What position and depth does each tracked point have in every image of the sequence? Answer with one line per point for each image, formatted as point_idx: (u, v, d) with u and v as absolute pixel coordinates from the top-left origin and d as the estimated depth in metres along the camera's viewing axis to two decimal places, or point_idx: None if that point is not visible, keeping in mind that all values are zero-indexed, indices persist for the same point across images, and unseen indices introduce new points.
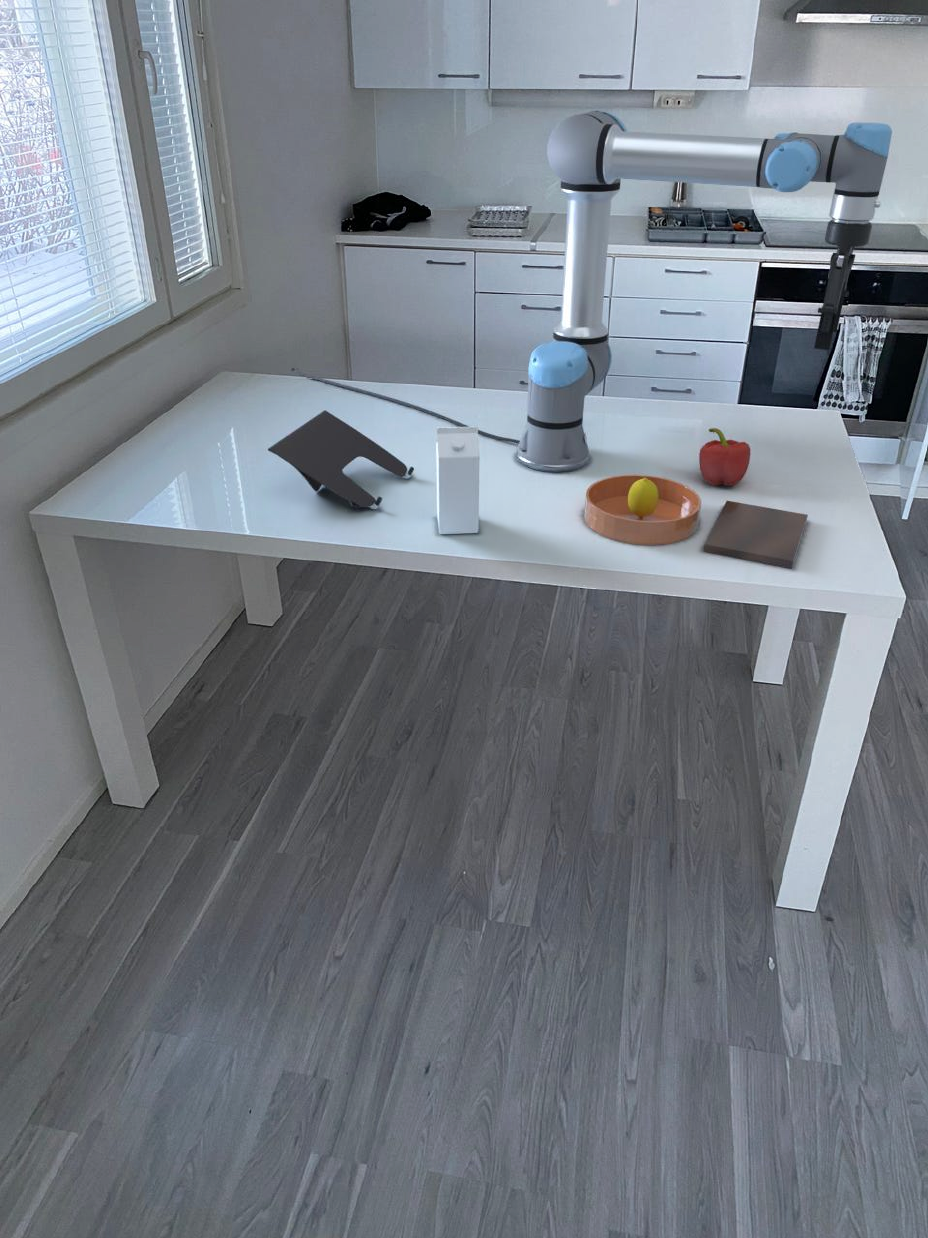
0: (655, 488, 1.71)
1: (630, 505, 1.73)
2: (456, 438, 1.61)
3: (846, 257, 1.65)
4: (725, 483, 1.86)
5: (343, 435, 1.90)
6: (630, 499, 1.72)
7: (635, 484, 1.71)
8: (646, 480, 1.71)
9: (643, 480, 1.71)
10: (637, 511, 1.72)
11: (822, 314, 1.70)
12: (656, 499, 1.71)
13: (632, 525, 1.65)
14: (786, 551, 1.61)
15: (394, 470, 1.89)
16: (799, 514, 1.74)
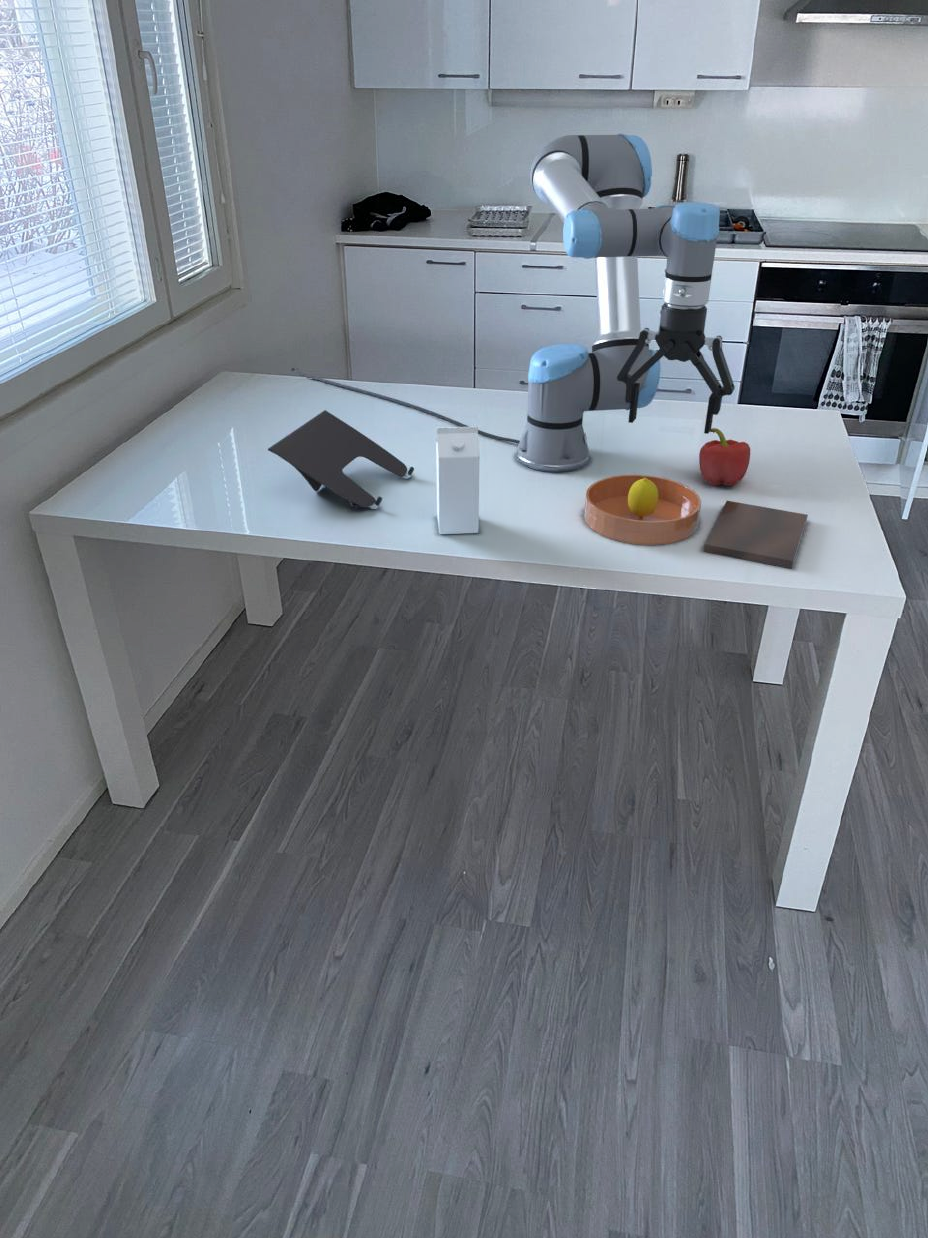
0: (655, 488, 1.71)
1: (630, 505, 1.73)
2: (456, 438, 1.61)
3: (641, 331, 1.61)
4: (725, 483, 1.86)
5: (343, 435, 1.90)
6: (630, 499, 1.72)
7: (635, 484, 1.71)
8: (646, 480, 1.71)
9: (643, 480, 1.71)
10: (637, 511, 1.72)
11: None
12: (656, 499, 1.71)
13: (632, 525, 1.65)
14: (786, 551, 1.61)
15: (394, 470, 1.89)
16: (799, 514, 1.74)
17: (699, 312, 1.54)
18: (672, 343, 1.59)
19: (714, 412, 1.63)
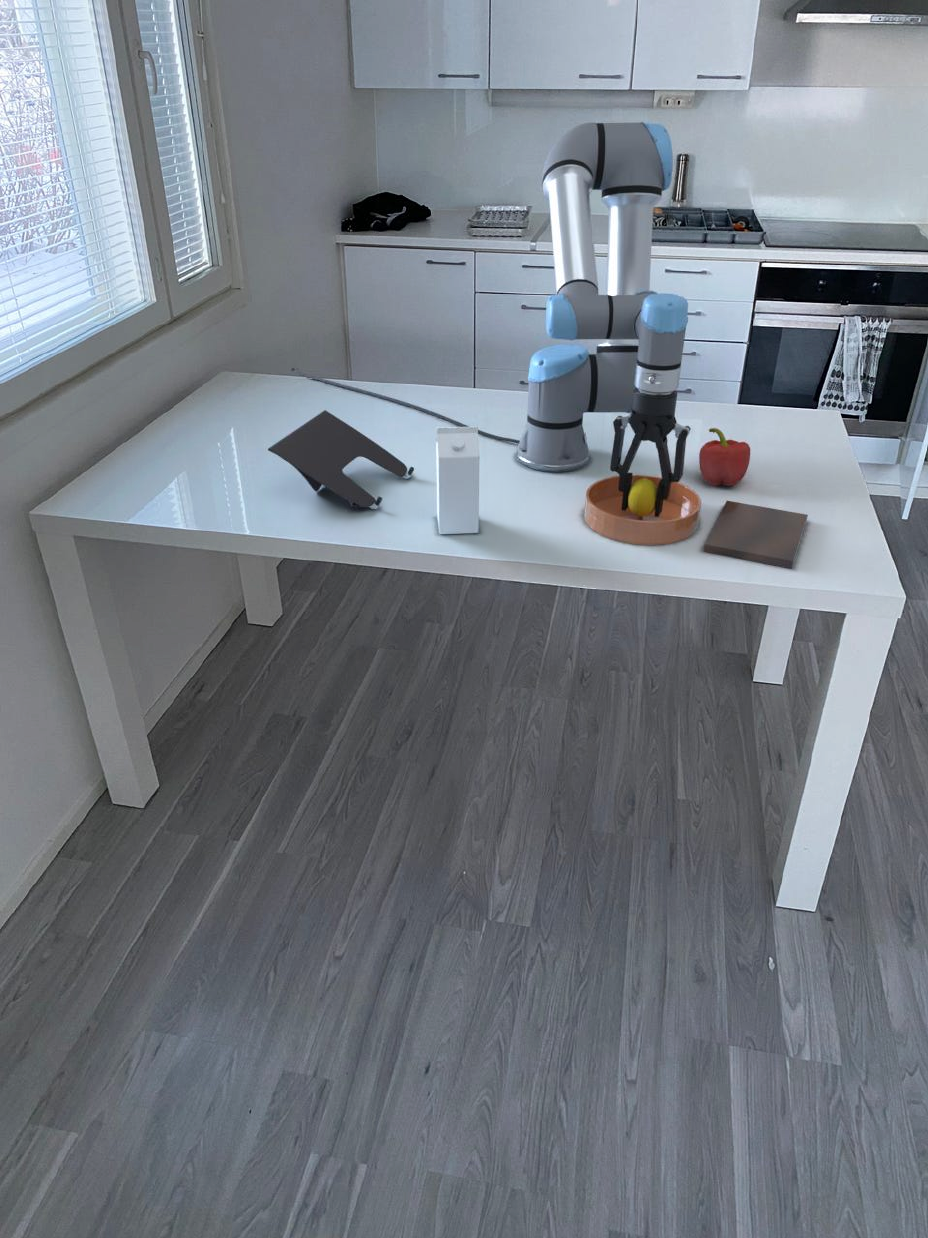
0: (655, 488, 1.71)
1: (630, 505, 1.73)
2: (456, 438, 1.61)
3: None
4: (725, 483, 1.86)
5: (343, 435, 1.90)
6: (630, 498, 1.72)
7: (635, 484, 1.71)
8: (646, 480, 1.71)
9: (643, 480, 1.71)
10: (637, 511, 1.72)
11: None
12: None
13: (632, 525, 1.65)
14: (786, 551, 1.61)
15: (394, 470, 1.89)
16: (799, 514, 1.74)
17: (668, 398, 1.60)
18: (643, 424, 1.64)
19: (663, 497, 1.71)
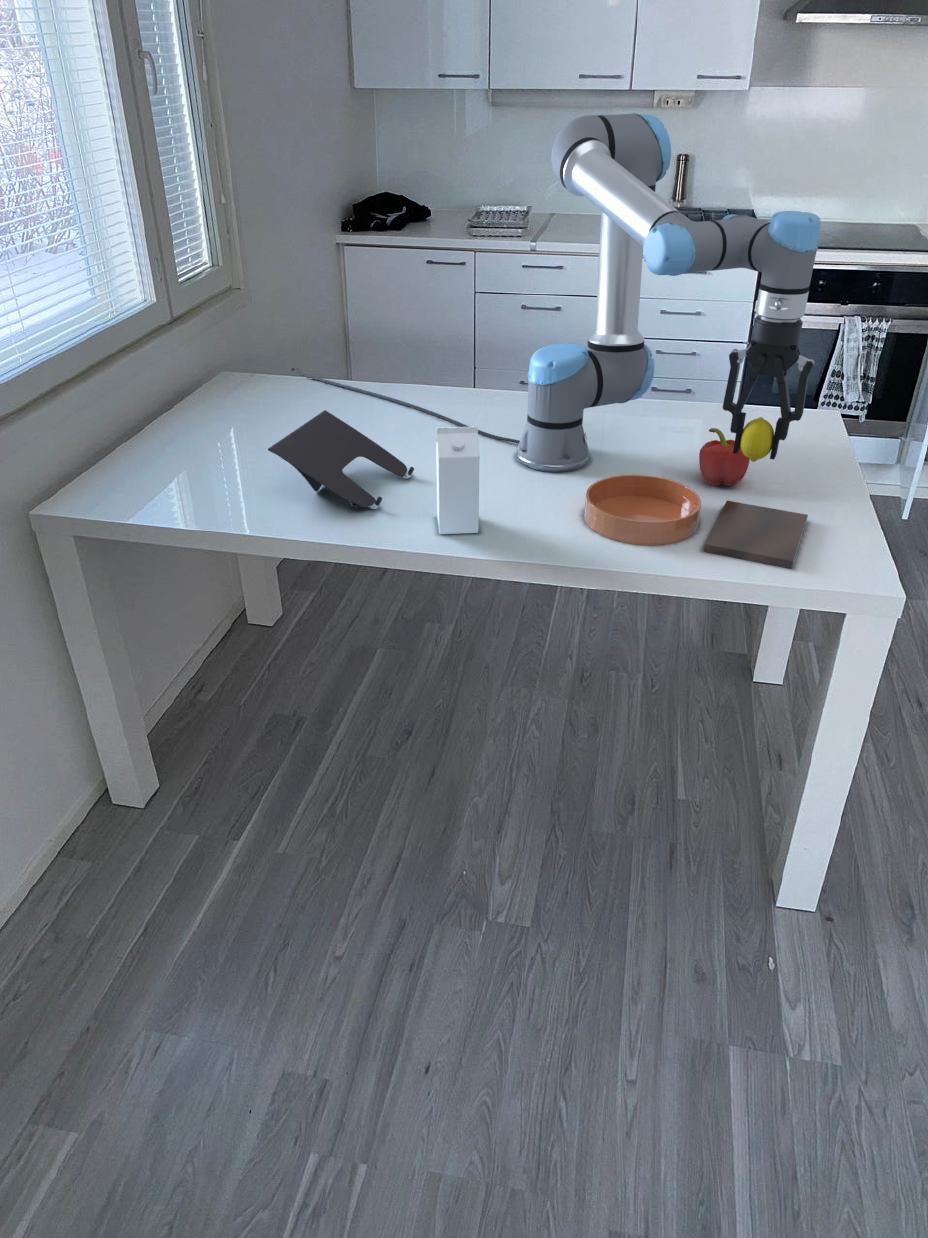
0: (771, 428, 1.59)
1: (743, 447, 1.60)
2: (456, 438, 1.61)
3: None
4: (725, 483, 1.86)
5: (343, 435, 1.90)
6: (743, 440, 1.60)
7: (750, 424, 1.59)
8: (762, 419, 1.58)
9: (759, 419, 1.58)
10: (752, 453, 1.60)
11: None
12: (772, 440, 1.59)
13: (632, 525, 1.65)
14: (786, 551, 1.61)
15: (394, 470, 1.89)
16: (799, 514, 1.74)
17: (794, 325, 1.48)
18: (763, 357, 1.52)
19: (781, 437, 1.58)
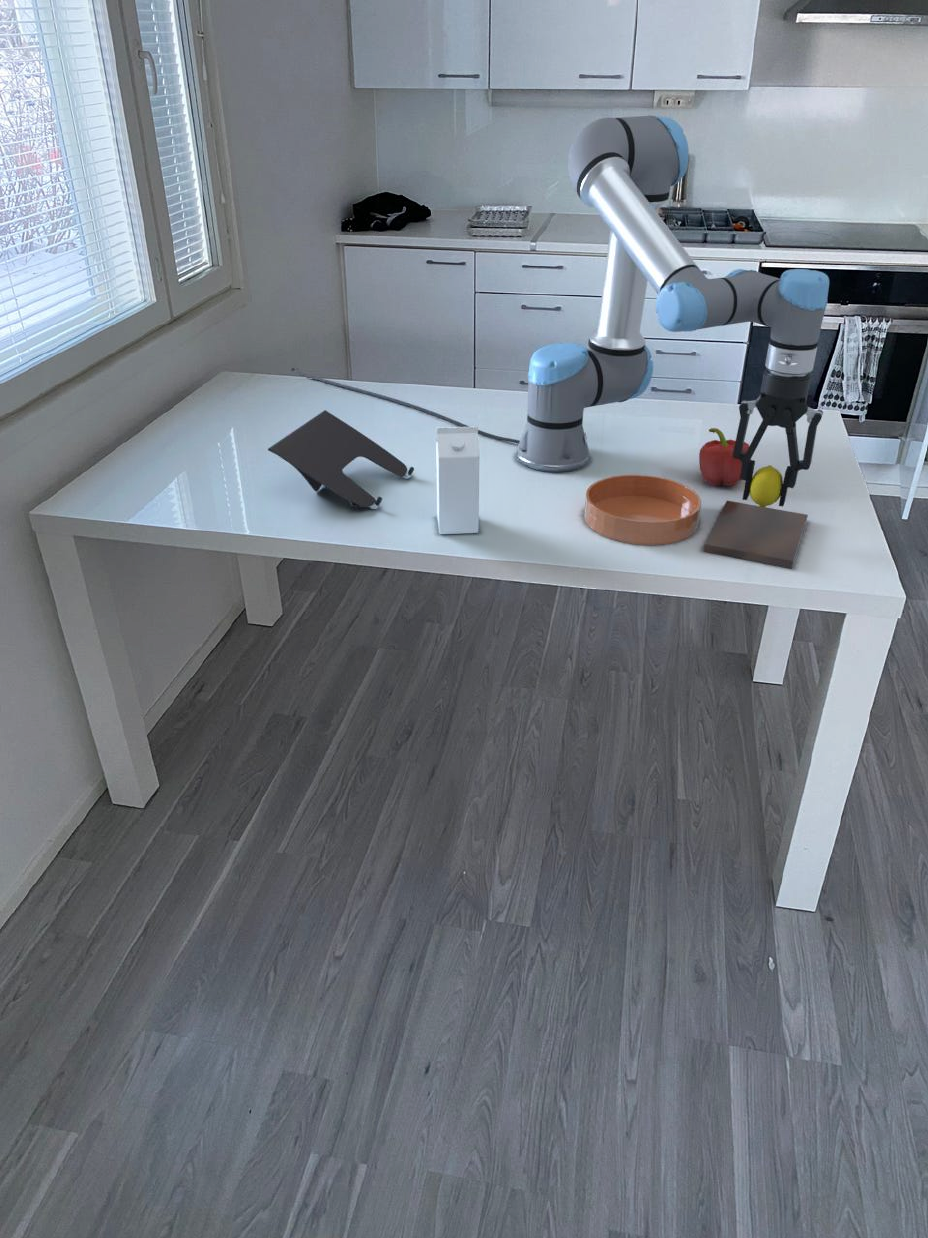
0: (780, 476, 1.62)
1: (753, 494, 1.64)
2: (456, 438, 1.61)
3: None
4: (725, 483, 1.86)
5: (343, 435, 1.90)
6: (753, 487, 1.63)
7: (759, 472, 1.63)
8: (771, 468, 1.62)
9: (768, 468, 1.62)
10: (761, 500, 1.63)
11: (750, 462, 1.65)
12: (781, 488, 1.63)
13: (632, 525, 1.65)
14: (786, 551, 1.61)
15: (394, 470, 1.89)
16: (799, 514, 1.74)
17: (803, 380, 1.51)
18: (773, 409, 1.56)
19: (790, 485, 1.62)
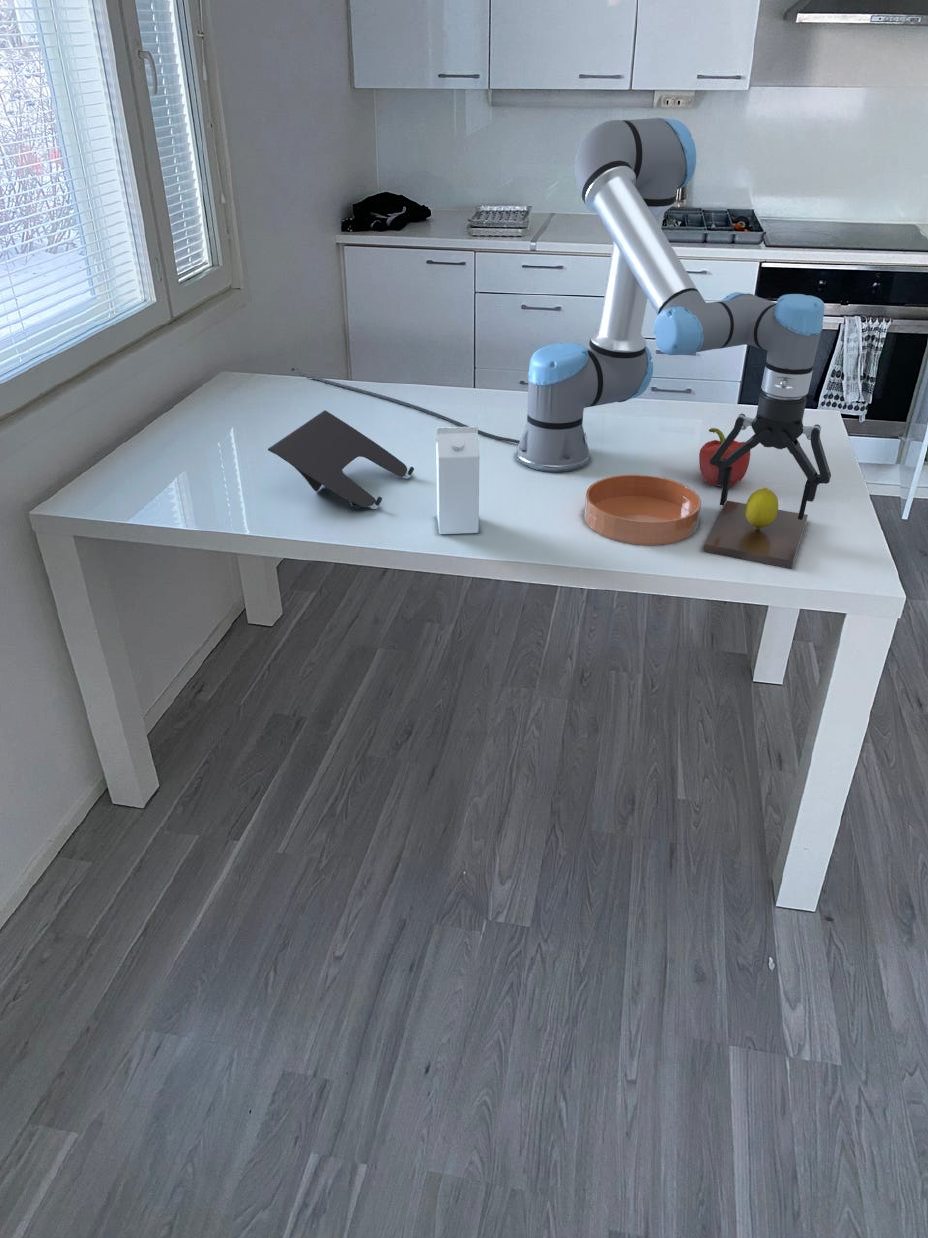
0: (776, 498, 1.65)
1: (749, 516, 1.66)
2: (456, 438, 1.61)
3: (737, 418, 1.60)
4: None
5: (343, 435, 1.90)
6: (749, 509, 1.66)
7: (755, 494, 1.65)
8: (767, 490, 1.64)
9: (763, 490, 1.64)
10: (757, 522, 1.66)
11: (727, 468, 1.67)
12: (777, 510, 1.65)
13: (632, 525, 1.65)
14: (786, 551, 1.61)
15: (394, 470, 1.89)
16: None
17: (799, 403, 1.53)
18: (769, 431, 1.58)
19: (809, 499, 1.62)
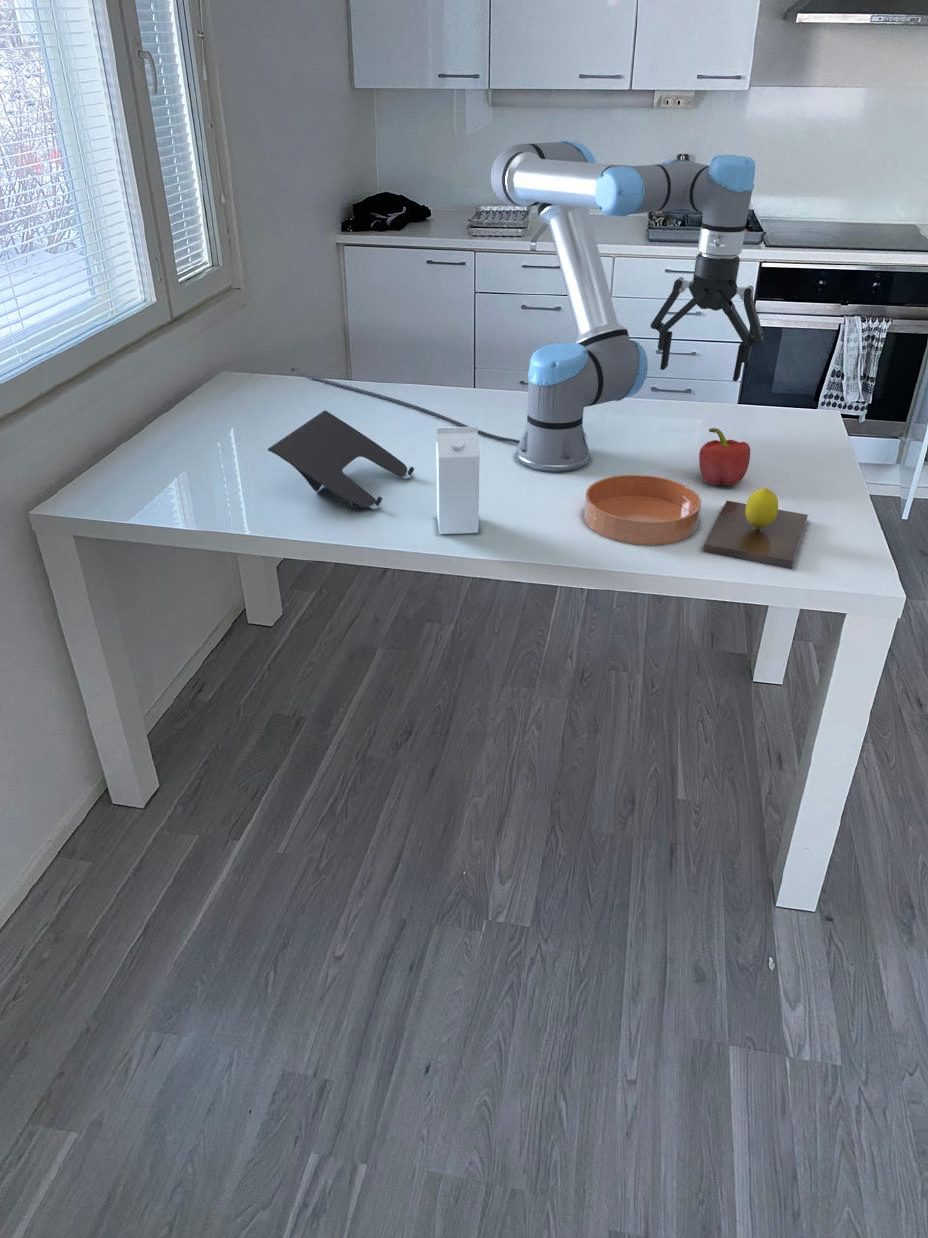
0: (776, 498, 1.65)
1: (749, 516, 1.66)
2: (456, 438, 1.61)
3: None
4: (725, 483, 1.86)
5: (343, 435, 1.90)
6: (749, 509, 1.66)
7: (755, 494, 1.65)
8: (767, 490, 1.64)
9: (763, 490, 1.64)
10: (757, 522, 1.66)
11: None
12: (777, 510, 1.65)
13: (632, 525, 1.65)
14: (786, 551, 1.61)
15: (394, 470, 1.89)
16: (799, 514, 1.74)
17: (732, 262, 1.61)
18: (705, 292, 1.66)
19: (743, 360, 1.70)
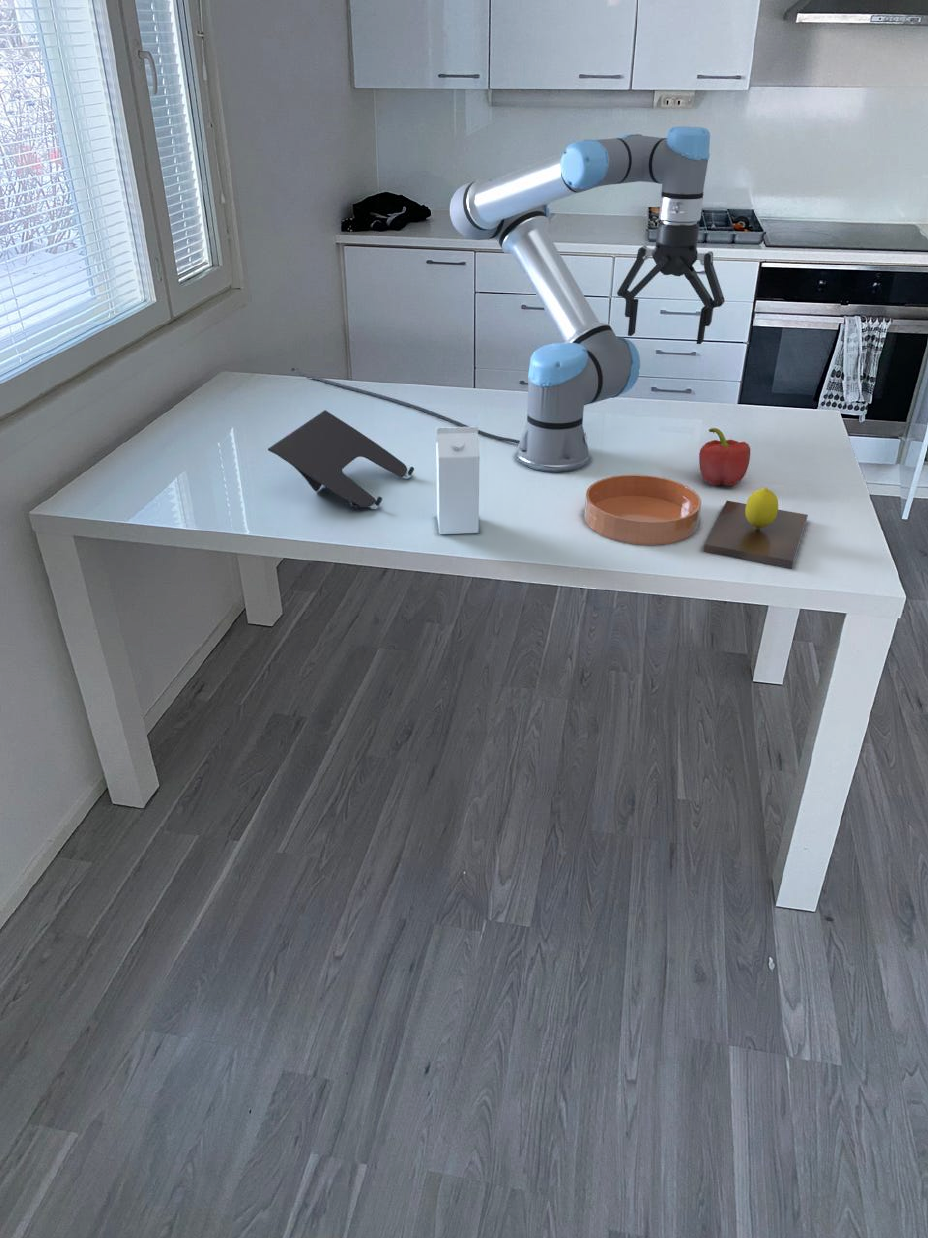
0: (776, 498, 1.65)
1: (749, 516, 1.66)
2: (456, 438, 1.61)
3: (639, 248, 1.76)
4: (725, 483, 1.86)
5: (343, 435, 1.90)
6: (749, 509, 1.66)
7: (755, 494, 1.65)
8: (767, 490, 1.64)
9: (763, 490, 1.64)
10: (757, 522, 1.66)
11: None
12: (777, 510, 1.65)
13: (632, 525, 1.65)
14: (786, 551, 1.61)
15: (394, 470, 1.89)
16: (799, 514, 1.74)
17: (691, 228, 1.70)
18: (667, 258, 1.74)
19: (706, 323, 1.78)
